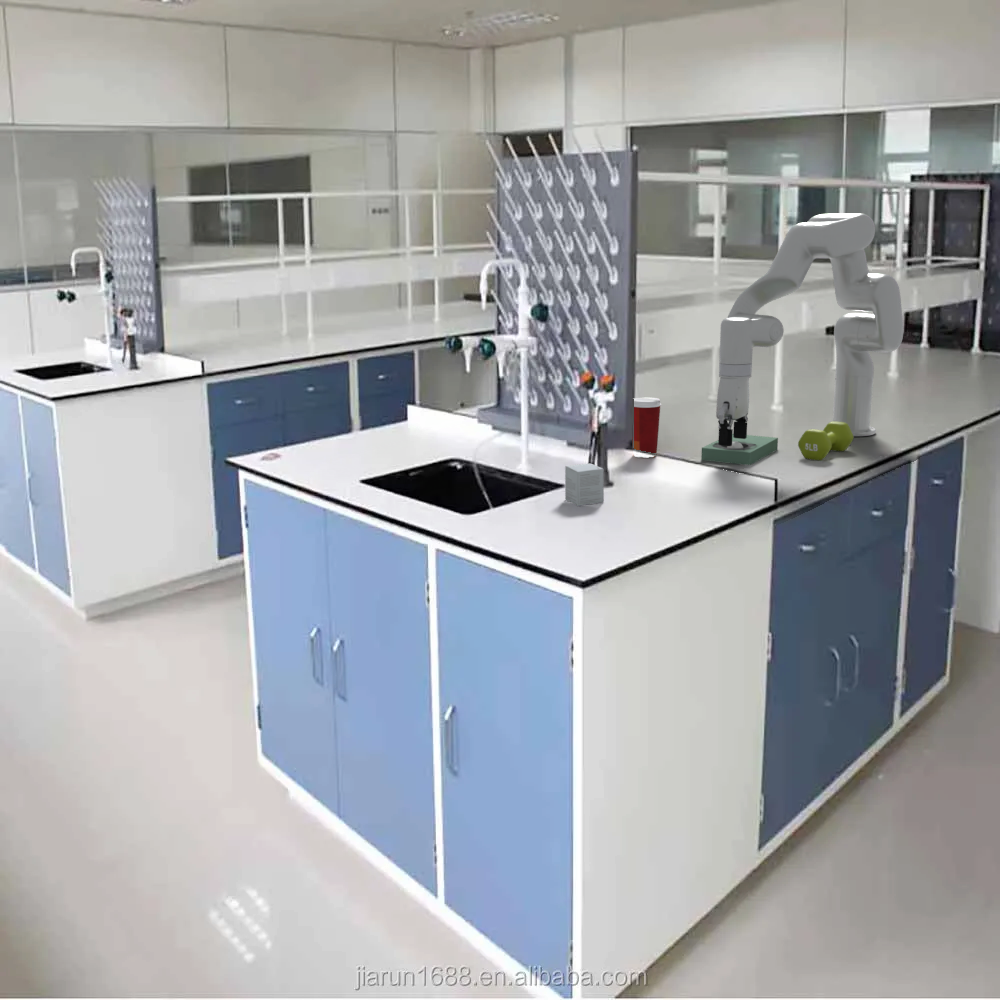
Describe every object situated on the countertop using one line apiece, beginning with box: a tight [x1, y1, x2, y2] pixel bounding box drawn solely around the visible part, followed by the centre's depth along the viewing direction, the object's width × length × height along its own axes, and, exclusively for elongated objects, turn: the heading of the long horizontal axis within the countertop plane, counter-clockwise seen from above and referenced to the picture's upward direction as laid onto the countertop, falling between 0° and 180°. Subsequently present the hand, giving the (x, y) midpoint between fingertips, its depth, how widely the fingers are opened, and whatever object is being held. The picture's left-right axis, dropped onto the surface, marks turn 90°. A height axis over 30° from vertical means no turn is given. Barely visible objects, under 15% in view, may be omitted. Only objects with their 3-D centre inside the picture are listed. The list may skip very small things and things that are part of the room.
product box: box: [564, 462, 605, 507], centre depth 219 cm, size 6×6×7 cm
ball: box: [727, 441, 743, 448], centre depth 256 cm, size 4×4×4 cm
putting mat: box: [700, 433, 779, 466], centre depth 260 cm, size 20×12×3 cm, turn 147°
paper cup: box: [633, 396, 663, 453], centre depth 259 cm, size 8×8×14 cm
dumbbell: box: [797, 420, 855, 461], centre depth 258 cm, size 16×8×7 cm, turn 138°
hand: (732, 441), depth 254 cm, fingers open, 9 cm apart
